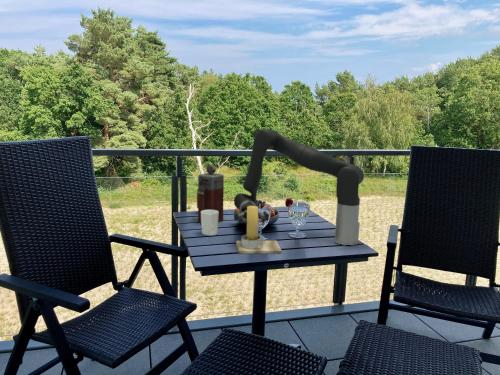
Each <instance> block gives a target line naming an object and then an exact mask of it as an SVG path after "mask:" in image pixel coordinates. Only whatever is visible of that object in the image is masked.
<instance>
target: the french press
mask: <svg viewBox="0 0 500 375" xmlns="http://www.w3.org/2000/svg"><path fill="white" fill-rule="evenodd" d="M205 169H206V172H207V173H201V174H198V177H197V179H198V180H197V182H198V183H197V185H198V186H197V192H196V208H197V222H198V223H201V211H203V210H217V211H218V212H219V215H218V224H219V223H221V222H223V221H224V196H225V195H224V191H225V190H224V189H225V188H224V187H225V182H224V180H225V179H224V178H225V176H224V174H220V173H216V171H217V168H216V166H215V165H214V164H208V165H207V166H206V168H205Z"/></svg>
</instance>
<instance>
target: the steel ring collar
mask: <svg viewBox="0 0 500 375" xmlns="http://www.w3.org/2000/svg"><path fill="white" fill-rule="evenodd" d="M263 240H264V237H263V235H261V234H258V239H257V240H249V239H247V233H246V234H243V235H241V238H240V241H241V245H242V247H243V248H246V249H259V248H262V247H263Z"/></svg>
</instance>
